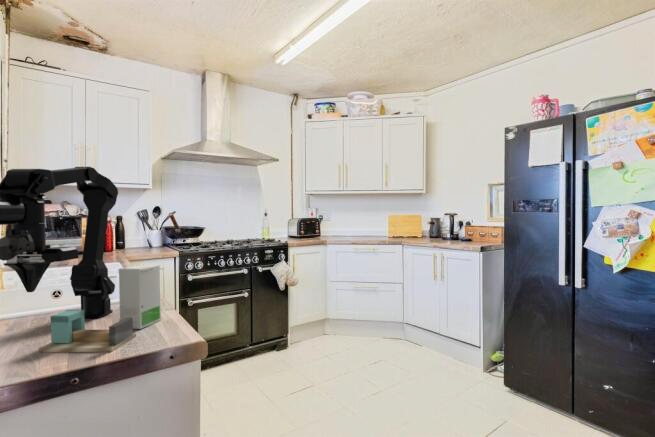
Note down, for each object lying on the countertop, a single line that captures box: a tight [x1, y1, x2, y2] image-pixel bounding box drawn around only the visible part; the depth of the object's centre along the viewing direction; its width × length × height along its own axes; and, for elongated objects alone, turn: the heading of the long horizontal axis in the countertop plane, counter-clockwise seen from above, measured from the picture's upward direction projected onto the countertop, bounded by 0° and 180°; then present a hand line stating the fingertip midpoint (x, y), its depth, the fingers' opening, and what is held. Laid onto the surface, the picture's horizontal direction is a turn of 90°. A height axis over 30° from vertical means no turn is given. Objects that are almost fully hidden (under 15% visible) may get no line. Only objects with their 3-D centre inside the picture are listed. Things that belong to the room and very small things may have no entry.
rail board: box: [38, 317, 137, 353], centre depth 78 cm, size 16×9×5 cm, turn 89°
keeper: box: [50, 309, 86, 343], centre depth 78 cm, size 4×5×6 cm
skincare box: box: [118, 264, 162, 330], centre depth 91 cm, size 8×7×16 cm
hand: (30, 291), depth 78 cm, fingers closed
